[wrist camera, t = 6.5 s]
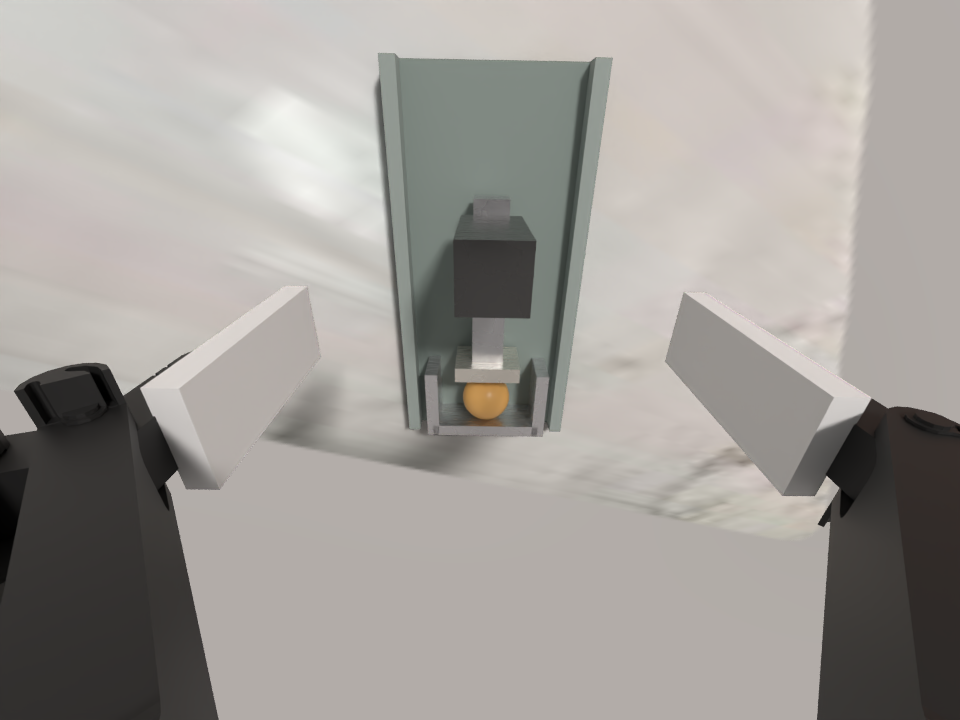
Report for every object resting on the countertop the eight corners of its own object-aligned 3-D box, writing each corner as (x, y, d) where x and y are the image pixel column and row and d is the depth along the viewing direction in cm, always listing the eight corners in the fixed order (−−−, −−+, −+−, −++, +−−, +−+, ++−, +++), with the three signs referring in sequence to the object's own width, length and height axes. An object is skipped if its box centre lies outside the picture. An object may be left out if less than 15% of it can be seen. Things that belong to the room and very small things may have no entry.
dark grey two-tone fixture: (457, 358, 34) (448, 439, 25) (455, 194, 28) (442, 217, 18) (515, 359, 34) (528, 440, 25) (526, 195, 28) (549, 219, 18)
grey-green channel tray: (412, 416, 38) (409, 429, 37) (385, 59, 25) (377, 53, 24) (556, 418, 38) (560, 431, 37) (603, 63, 25) (612, 57, 24)
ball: (461, 384, 32) (463, 365, 35) (461, 427, 33) (463, 405, 37) (511, 385, 32) (508, 366, 35) (509, 428, 33) (506, 406, 37)
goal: (433, 408, 38) (427, 434, 34) (430, 352, 35) (424, 375, 32) (536, 409, 38) (542, 436, 34) (542, 354, 35) (549, 377, 32)
